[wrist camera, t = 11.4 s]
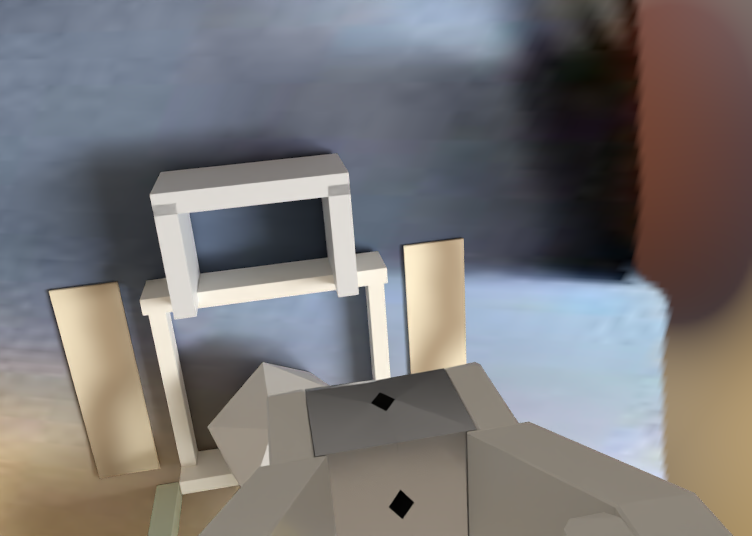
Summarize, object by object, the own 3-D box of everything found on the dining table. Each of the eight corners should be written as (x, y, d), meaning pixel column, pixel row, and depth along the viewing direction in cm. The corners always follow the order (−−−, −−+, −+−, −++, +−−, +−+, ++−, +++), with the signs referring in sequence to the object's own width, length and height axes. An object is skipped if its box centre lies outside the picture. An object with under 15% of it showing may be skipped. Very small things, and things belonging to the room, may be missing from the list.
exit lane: (100, 476, 47) (99, 478, 47) (49, 290, 42) (48, 291, 42) (466, 416, 51) (467, 418, 50) (462, 237, 45) (463, 238, 45)
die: (239, 322, 45) (164, 448, 39) (361, 345, 43) (302, 483, 37) (267, 395, 51) (206, 514, 45) (376, 418, 49) (327, 549, 42)
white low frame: (185, 465, 48) (179, 516, 43) (124, 175, 40) (108, 199, 35) (390, 432, 50) (405, 476, 45) (370, 149, 42) (385, 168, 37)
